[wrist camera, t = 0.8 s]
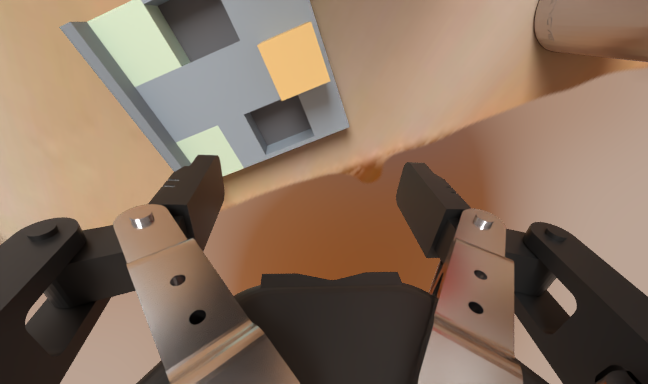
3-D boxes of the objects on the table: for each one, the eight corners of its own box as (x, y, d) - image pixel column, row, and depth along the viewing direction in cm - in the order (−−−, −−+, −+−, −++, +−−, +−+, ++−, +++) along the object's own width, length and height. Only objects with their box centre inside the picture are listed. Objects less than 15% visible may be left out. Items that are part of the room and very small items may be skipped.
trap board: (286, -63, 23) (286, -82, 19) (344, 118, 32) (353, 133, 28) (98, 26, 25) (59, 27, 20) (204, 174, 34) (193, 195, 30)
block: (307, 21, 24) (311, 21, 20) (324, 72, 26) (330, 81, 22) (261, 41, 24) (257, 45, 20) (282, 90, 27) (281, 101, 23)
